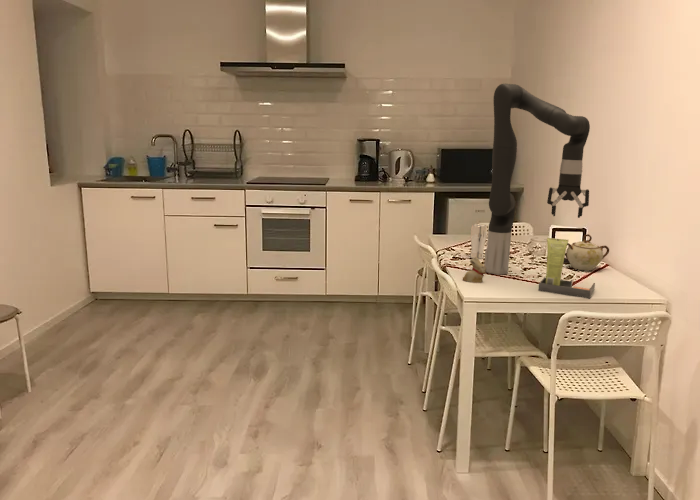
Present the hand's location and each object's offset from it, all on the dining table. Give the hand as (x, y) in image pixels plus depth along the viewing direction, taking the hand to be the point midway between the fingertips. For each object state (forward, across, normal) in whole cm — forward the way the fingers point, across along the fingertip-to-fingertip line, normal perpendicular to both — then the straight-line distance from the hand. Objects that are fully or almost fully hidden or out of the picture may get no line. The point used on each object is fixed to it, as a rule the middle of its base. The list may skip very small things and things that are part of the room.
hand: (566, 216), depth 220 cm
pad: (+28, -8, -2) cm, 29 cm away
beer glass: (+27, +36, -40) cm, 60 cm away
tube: (+28, +2, +2) cm, 28 cm away
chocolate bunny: (+28, +32, +2) cm, 42 cm away
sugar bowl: (+27, -10, -39) cm, 49 cm away
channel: (+28, -3, +1) cm, 28 cm away
